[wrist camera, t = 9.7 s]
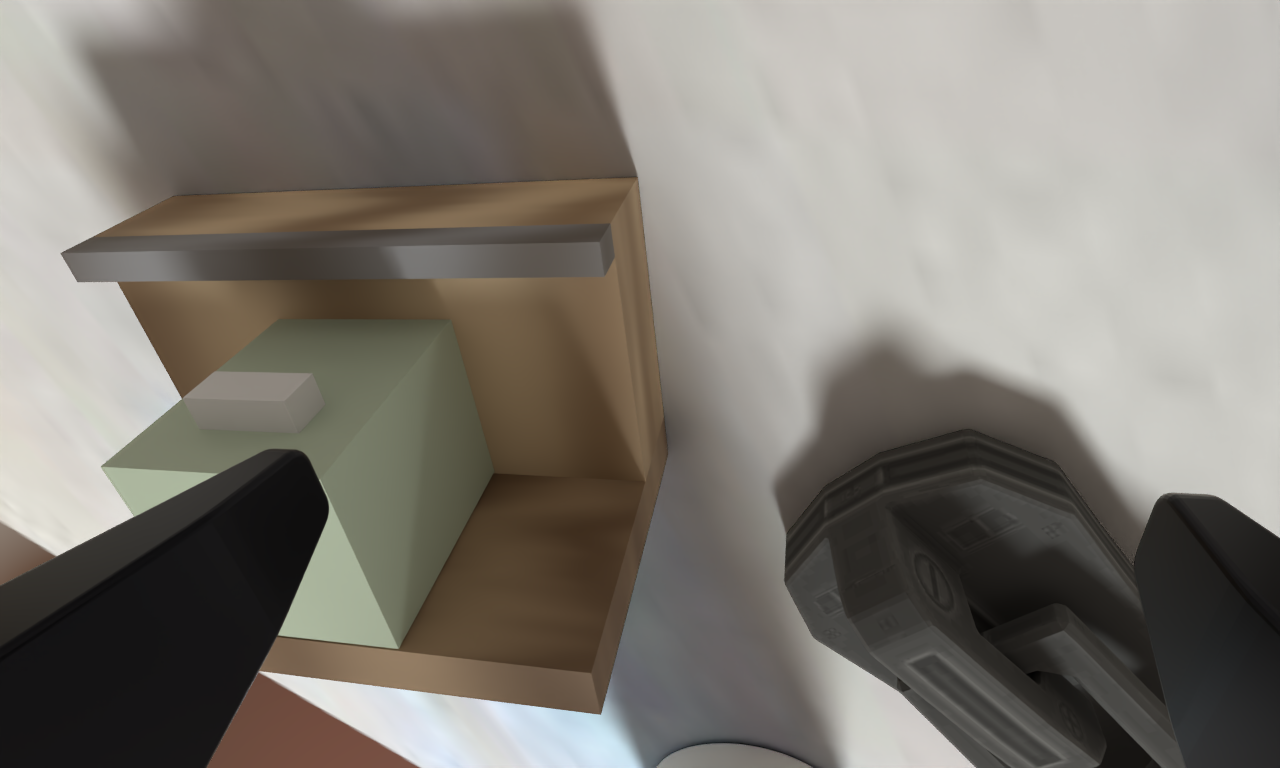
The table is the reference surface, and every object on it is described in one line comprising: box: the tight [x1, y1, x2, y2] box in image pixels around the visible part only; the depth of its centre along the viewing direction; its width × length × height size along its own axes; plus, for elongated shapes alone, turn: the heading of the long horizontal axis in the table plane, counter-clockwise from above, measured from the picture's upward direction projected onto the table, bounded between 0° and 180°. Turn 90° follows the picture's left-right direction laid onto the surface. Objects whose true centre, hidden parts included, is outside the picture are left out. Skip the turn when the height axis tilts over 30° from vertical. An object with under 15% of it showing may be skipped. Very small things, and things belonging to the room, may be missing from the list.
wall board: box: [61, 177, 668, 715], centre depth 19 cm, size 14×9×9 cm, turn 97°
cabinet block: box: [101, 319, 494, 649], centre depth 18 cm, size 5×6×6 cm
